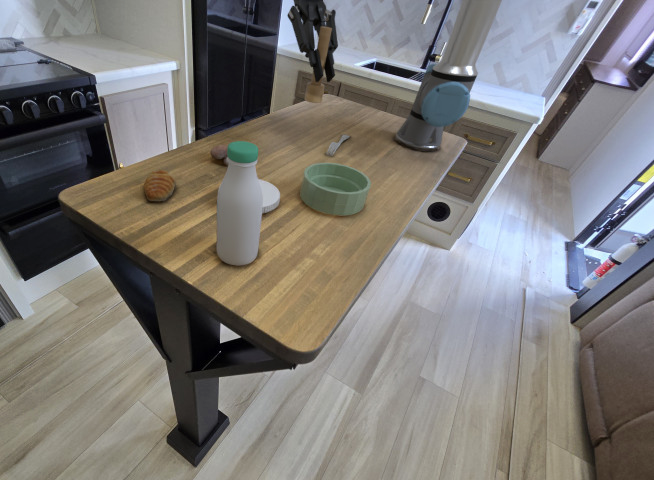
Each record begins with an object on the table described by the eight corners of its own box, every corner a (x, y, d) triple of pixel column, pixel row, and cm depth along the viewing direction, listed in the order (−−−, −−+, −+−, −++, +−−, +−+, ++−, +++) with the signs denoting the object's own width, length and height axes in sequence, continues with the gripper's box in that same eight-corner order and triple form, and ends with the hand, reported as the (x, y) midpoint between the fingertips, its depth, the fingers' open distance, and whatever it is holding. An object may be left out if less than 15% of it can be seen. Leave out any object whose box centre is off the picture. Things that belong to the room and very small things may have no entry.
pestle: (309, 96, 94) (322, 25, 83) (324, 101, 92) (339, 28, 81) (301, 99, 91) (313, 25, 80) (316, 104, 89) (330, 29, 78)
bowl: (318, 179, 88) (323, 157, 84) (372, 200, 83) (380, 177, 79) (287, 200, 79) (291, 176, 75) (346, 225, 73) (354, 201, 69)
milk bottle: (265, 258, 62) (279, 152, 48) (230, 272, 59) (234, 160, 45) (243, 237, 66) (250, 133, 52) (209, 248, 63) (206, 139, 49)
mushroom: (244, 167, 89) (241, 148, 93) (234, 149, 84) (232, 130, 88) (219, 177, 91) (217, 158, 95) (208, 160, 86) (207, 141, 90)
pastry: (172, 205, 72) (170, 188, 70) (140, 203, 71) (137, 187, 69) (176, 184, 79) (175, 169, 76) (147, 183, 78) (144, 167, 75)
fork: (348, 144, 116) (351, 135, 114) (333, 156, 100) (335, 147, 99) (341, 142, 117) (343, 133, 115) (324, 154, 101) (326, 144, 99)
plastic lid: (283, 193, 81) (284, 183, 79) (272, 223, 71) (274, 213, 69) (228, 182, 82) (228, 173, 80) (210, 211, 72) (210, 200, 70)
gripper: (324, 0, 90) (342, 87, 91) (272, -5, 84) (292, 87, 86) (340, -25, 83) (359, 69, 84) (284, -33, 77) (305, 68, 79)
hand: (325, 78), depth 85 cm, fingers closed on pestle, 3 cm apart
